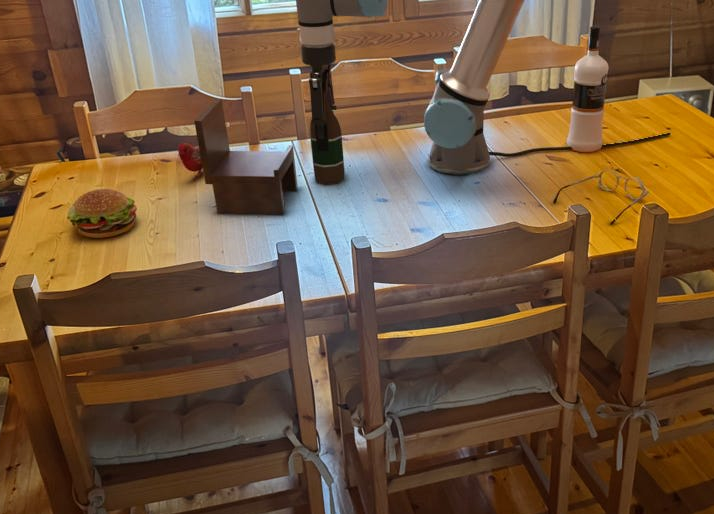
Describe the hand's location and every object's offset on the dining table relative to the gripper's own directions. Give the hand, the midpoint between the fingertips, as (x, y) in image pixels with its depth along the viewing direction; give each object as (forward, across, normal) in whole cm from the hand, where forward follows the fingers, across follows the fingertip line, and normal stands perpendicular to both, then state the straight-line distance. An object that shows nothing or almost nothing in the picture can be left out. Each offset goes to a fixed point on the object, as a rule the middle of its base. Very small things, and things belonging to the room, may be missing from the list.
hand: (326, 144), depth 193 cm
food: (+9, +29, -44) cm, 54 cm away
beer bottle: (+9, 0, 0) cm, 9 cm away
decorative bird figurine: (+9, -2, -32) cm, 33 cm away
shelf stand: (+9, +14, -14) cm, 21 cm away
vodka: (+9, -24, +63) cm, 68 cm away
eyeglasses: (+9, +12, +64) cm, 66 cm away
